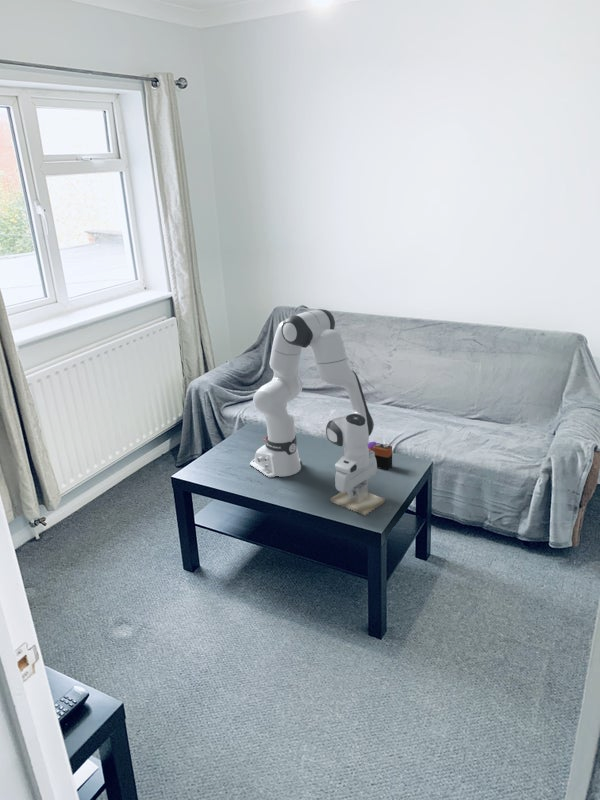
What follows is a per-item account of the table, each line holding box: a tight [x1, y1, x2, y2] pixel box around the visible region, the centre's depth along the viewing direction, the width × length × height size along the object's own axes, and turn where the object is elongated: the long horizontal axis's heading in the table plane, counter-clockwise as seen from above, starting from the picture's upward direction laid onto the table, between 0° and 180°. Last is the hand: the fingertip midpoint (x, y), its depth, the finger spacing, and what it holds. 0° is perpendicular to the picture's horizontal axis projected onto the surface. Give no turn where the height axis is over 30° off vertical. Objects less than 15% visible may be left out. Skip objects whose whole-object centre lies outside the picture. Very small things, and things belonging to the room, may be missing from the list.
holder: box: [329, 491, 386, 516], centre depth 225 cm, size 16×12×6 cm
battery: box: [373, 442, 393, 471], centre depth 249 cm, size 4×7×10 cm, turn 57°
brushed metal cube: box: [348, 482, 369, 504], centre depth 225 cm, size 5×5×6 cm
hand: (357, 492), depth 225 cm, fingers open, 6 cm apart
